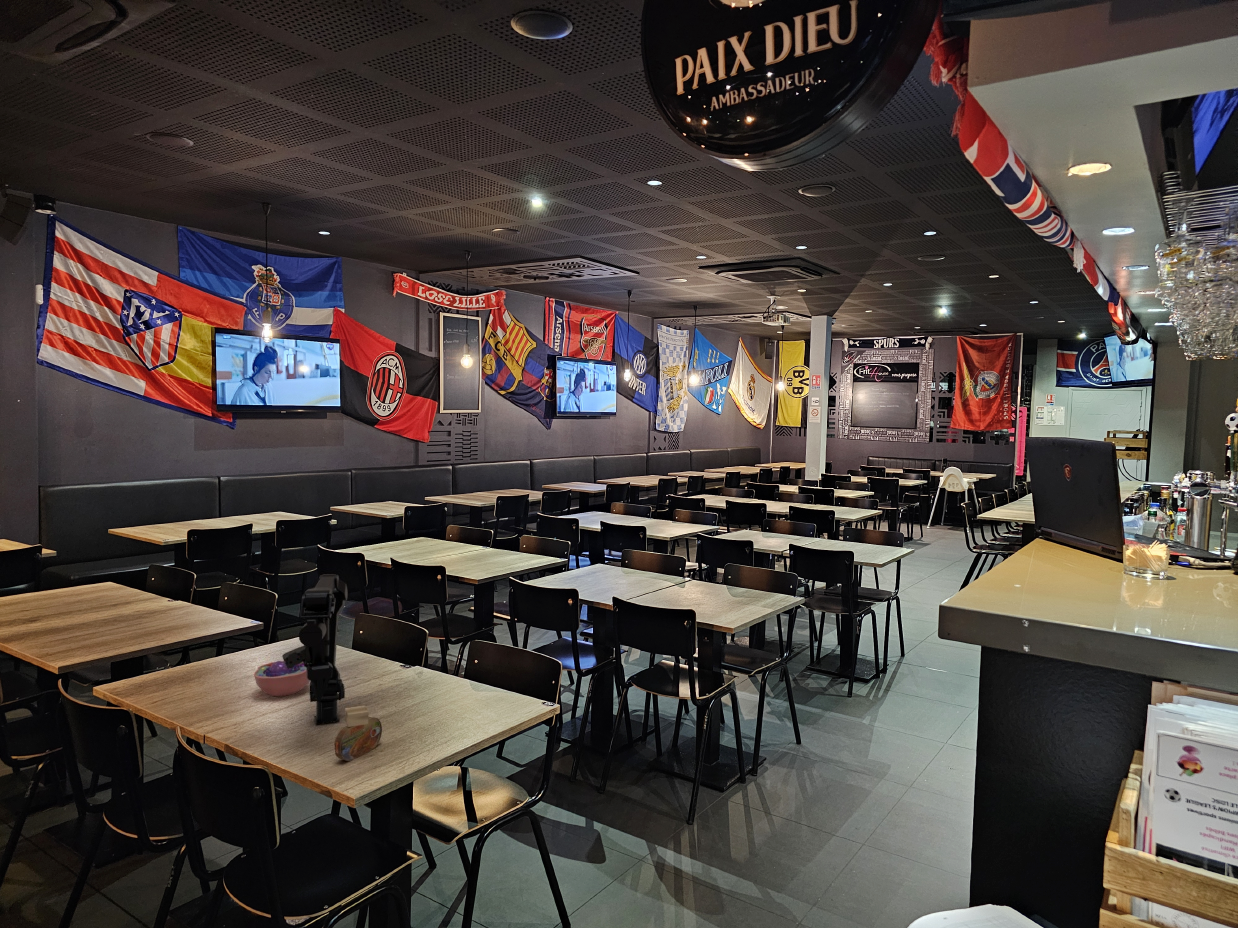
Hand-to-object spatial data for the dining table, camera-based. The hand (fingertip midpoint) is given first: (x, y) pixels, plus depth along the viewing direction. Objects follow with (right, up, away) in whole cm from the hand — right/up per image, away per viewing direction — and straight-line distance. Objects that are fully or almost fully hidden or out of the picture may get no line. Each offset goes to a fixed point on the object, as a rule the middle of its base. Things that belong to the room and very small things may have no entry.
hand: (317, 694), depth 198 cm
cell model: (-26, -12, +39) cm, 48 cm away
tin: (+13, -14, -6) cm, 20 cm away
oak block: (+13, -5, -7) cm, 15 cm away
